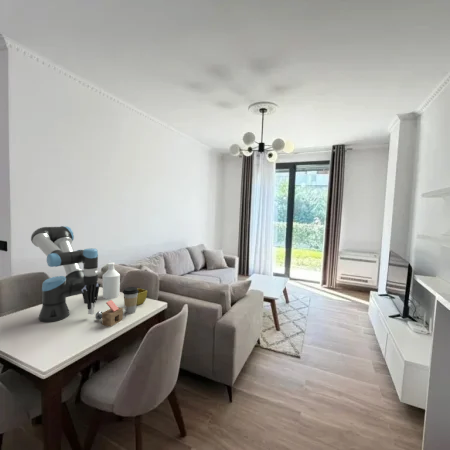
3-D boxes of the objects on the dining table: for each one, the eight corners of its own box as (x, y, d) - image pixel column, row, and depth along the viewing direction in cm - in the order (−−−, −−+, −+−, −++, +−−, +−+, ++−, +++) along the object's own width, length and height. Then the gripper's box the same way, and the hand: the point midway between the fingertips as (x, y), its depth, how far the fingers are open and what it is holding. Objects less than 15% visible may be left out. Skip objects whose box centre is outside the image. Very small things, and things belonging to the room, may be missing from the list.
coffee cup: (133, 315, 159) (133, 292, 158) (119, 313, 160) (119, 290, 160) (141, 309, 168) (141, 287, 167) (128, 308, 170) (128, 286, 169)
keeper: (105, 303, 147) (106, 302, 147) (110, 300, 151) (111, 299, 151) (113, 312, 146) (114, 311, 146) (118, 309, 150) (119, 308, 150)
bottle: (100, 299, 184) (100, 265, 182) (104, 293, 196) (104, 261, 194) (118, 298, 186) (118, 264, 185) (121, 293, 198) (121, 261, 196)
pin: (95, 320, 150) (95, 313, 149) (101, 317, 154) (101, 310, 154) (111, 323, 147) (111, 315, 146) (116, 320, 151) (116, 312, 150)
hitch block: (102, 325, 145) (102, 312, 145) (114, 317, 155) (114, 306, 154) (110, 326, 143) (110, 314, 143) (122, 319, 153) (122, 308, 152)
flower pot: (147, 303, 180) (147, 290, 179) (137, 306, 173) (137, 293, 172) (139, 300, 185) (139, 288, 184) (129, 303, 177) (129, 291, 177)
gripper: (87, 278, 144) (87, 319, 146) (104, 272, 157) (104, 310, 158) (76, 276, 146) (76, 317, 148) (94, 271, 159) (94, 309, 160)
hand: (90, 313), depth 153 cm, fingers closed
